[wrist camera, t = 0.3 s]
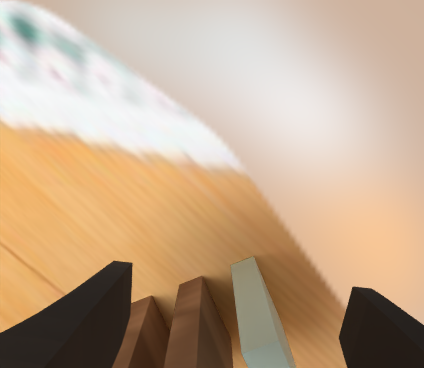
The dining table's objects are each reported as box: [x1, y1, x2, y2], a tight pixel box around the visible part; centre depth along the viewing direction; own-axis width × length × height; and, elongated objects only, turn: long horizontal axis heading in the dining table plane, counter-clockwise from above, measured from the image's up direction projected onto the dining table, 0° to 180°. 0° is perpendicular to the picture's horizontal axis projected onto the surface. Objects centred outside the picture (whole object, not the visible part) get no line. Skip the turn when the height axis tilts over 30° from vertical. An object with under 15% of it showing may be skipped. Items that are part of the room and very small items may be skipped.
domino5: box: [164, 276, 233, 368], centre depth 18 cm, size 2×5×8 cm, turn 23°
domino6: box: [231, 256, 296, 368], centre depth 18 cm, size 2×5×8 cm, turn 23°
